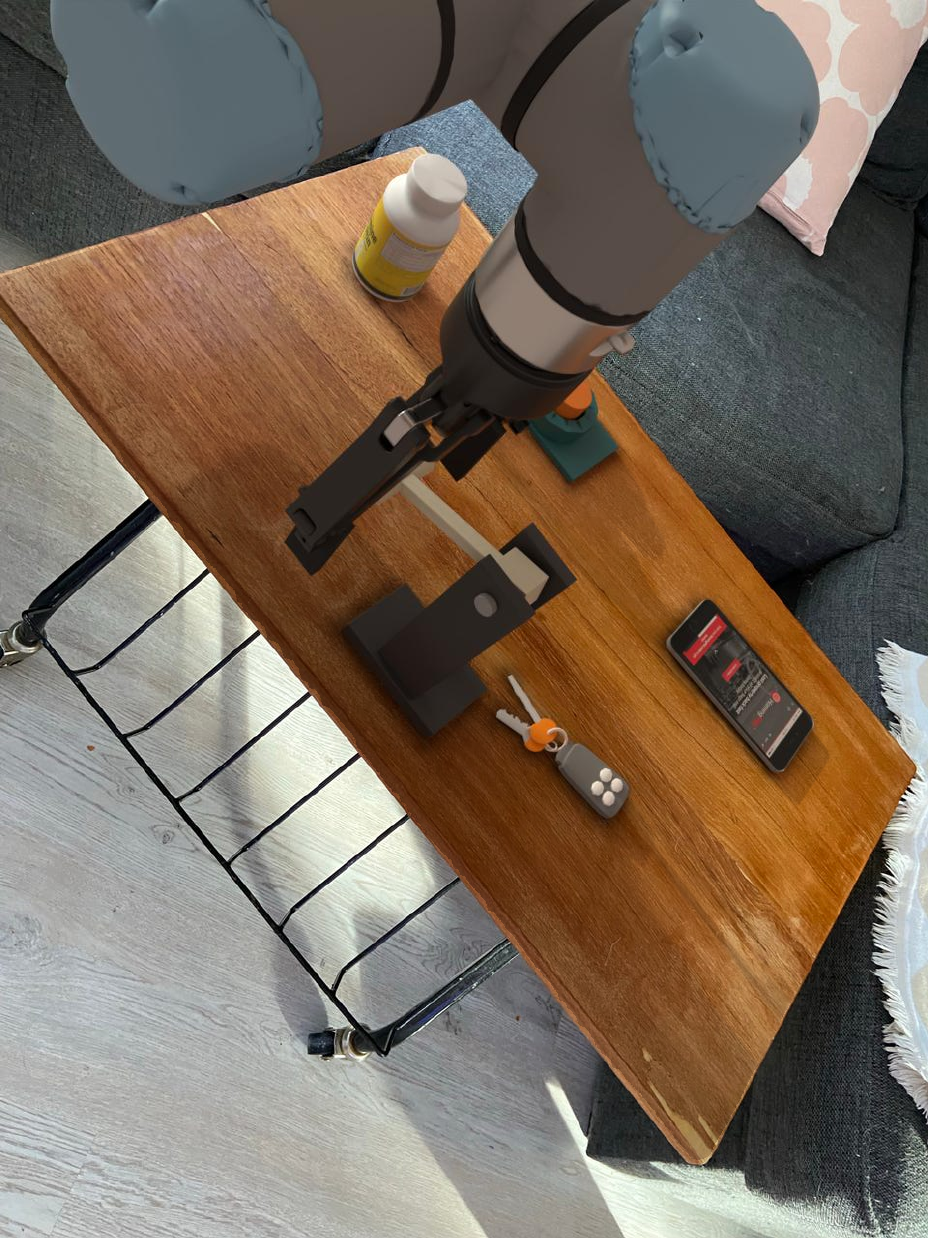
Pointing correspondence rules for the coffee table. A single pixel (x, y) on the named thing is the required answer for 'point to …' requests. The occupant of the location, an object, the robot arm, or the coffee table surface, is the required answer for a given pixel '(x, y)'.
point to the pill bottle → (410, 229)
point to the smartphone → (741, 685)
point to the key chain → (571, 760)
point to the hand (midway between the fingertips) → (378, 508)
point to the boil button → (575, 402)
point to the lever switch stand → (450, 632)
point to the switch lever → (468, 533)
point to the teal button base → (573, 440)
